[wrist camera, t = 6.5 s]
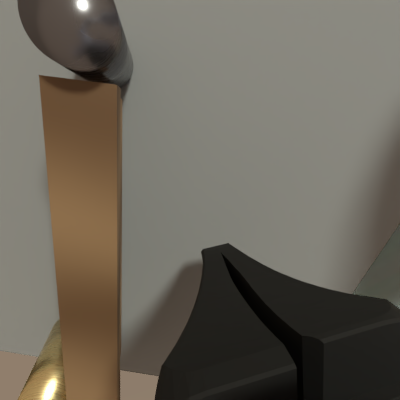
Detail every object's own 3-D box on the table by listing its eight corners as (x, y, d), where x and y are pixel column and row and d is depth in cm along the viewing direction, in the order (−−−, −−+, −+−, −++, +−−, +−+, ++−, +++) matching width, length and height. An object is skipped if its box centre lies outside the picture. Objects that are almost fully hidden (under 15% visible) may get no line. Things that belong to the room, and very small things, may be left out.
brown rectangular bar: (82, 92, 10) (39, 75, 6) (130, 98, 10) (116, 84, 6) (92, 352, 13) (70, 441, 10) (126, 349, 14) (117, 434, 10)
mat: (77, -322, 7) (74, -341, 7) (496, 69, 13) (504, 68, 13) (-81, 331, 12) (-87, 336, 12) (281, 391, 18) (283, 396, 18)
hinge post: (91, 25, 10) (32, -67, 5) (141, 52, 10) (131, -7, 5) (75, 77, 10) (6, 37, 5) (123, 100, 10) (100, 83, 6)
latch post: (60, 307, 13) (16, 398, 9) (99, 315, 13) (75, 404, 9) (49, 336, 13) (1, 437, 9) (87, 343, 14) (59, 441, 10)
